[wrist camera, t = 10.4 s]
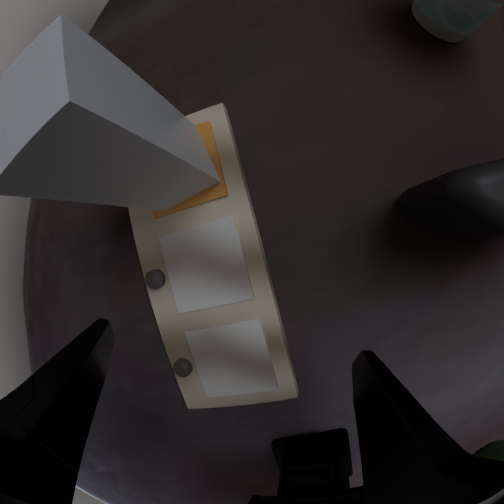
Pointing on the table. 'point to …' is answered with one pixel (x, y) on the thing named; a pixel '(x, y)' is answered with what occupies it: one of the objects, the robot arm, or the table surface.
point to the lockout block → (93, 129)
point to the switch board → (215, 286)
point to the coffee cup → (453, 16)
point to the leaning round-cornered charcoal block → (461, 200)
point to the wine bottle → (492, 451)
